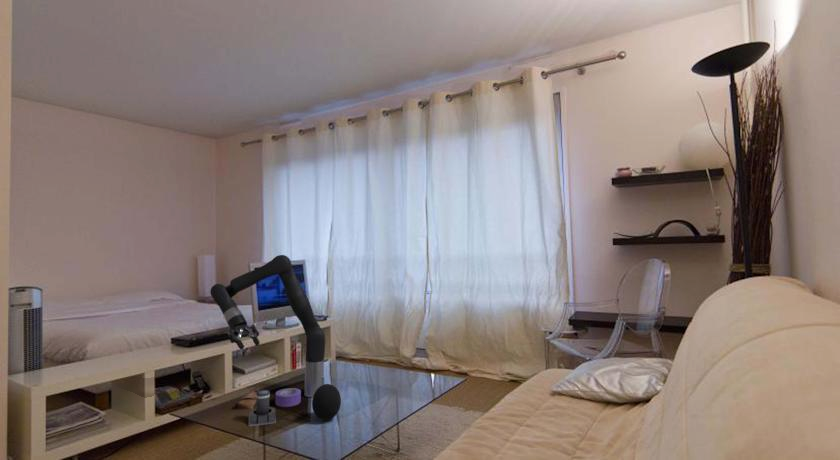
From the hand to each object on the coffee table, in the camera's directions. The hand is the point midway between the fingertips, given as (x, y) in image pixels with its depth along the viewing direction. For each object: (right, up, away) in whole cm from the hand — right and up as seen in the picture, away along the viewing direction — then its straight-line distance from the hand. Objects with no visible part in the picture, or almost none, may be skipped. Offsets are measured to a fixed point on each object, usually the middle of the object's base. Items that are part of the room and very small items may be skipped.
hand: (250, 346), depth 189 cm
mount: (+10, -28, -12) cm, 32 cm away
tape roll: (+14, -30, +9) cm, 34 cm away
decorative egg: (+37, -29, -10) cm, 48 cm away
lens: (+10, -28, -12) cm, 32 cm away
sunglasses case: (-3, -30, +7) cm, 31 cm away
